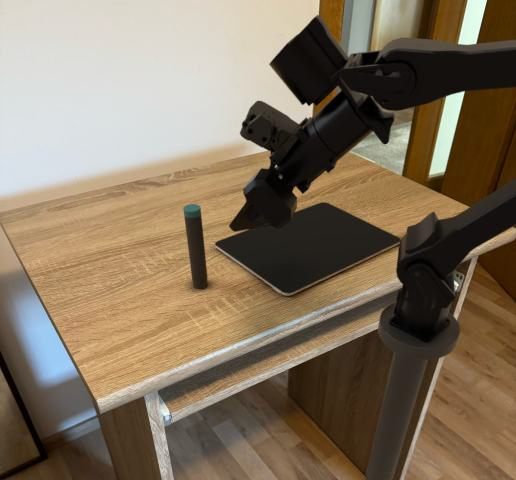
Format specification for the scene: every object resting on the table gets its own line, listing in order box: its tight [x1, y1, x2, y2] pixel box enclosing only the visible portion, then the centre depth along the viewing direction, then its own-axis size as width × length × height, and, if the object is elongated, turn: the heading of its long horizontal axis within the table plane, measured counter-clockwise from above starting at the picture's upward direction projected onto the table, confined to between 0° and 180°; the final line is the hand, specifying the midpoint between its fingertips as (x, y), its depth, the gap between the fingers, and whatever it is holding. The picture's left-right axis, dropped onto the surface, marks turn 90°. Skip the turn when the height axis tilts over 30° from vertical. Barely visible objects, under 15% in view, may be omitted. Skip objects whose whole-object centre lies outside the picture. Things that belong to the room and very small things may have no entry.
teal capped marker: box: [183, 203, 209, 290], centre depth 72 cm, size 2×2×13 cm
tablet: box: [214, 202, 402, 297], centre depth 85 cm, size 27×1×20 cm
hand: (241, 212), depth 67 cm, fingers open, 9 cm apart
